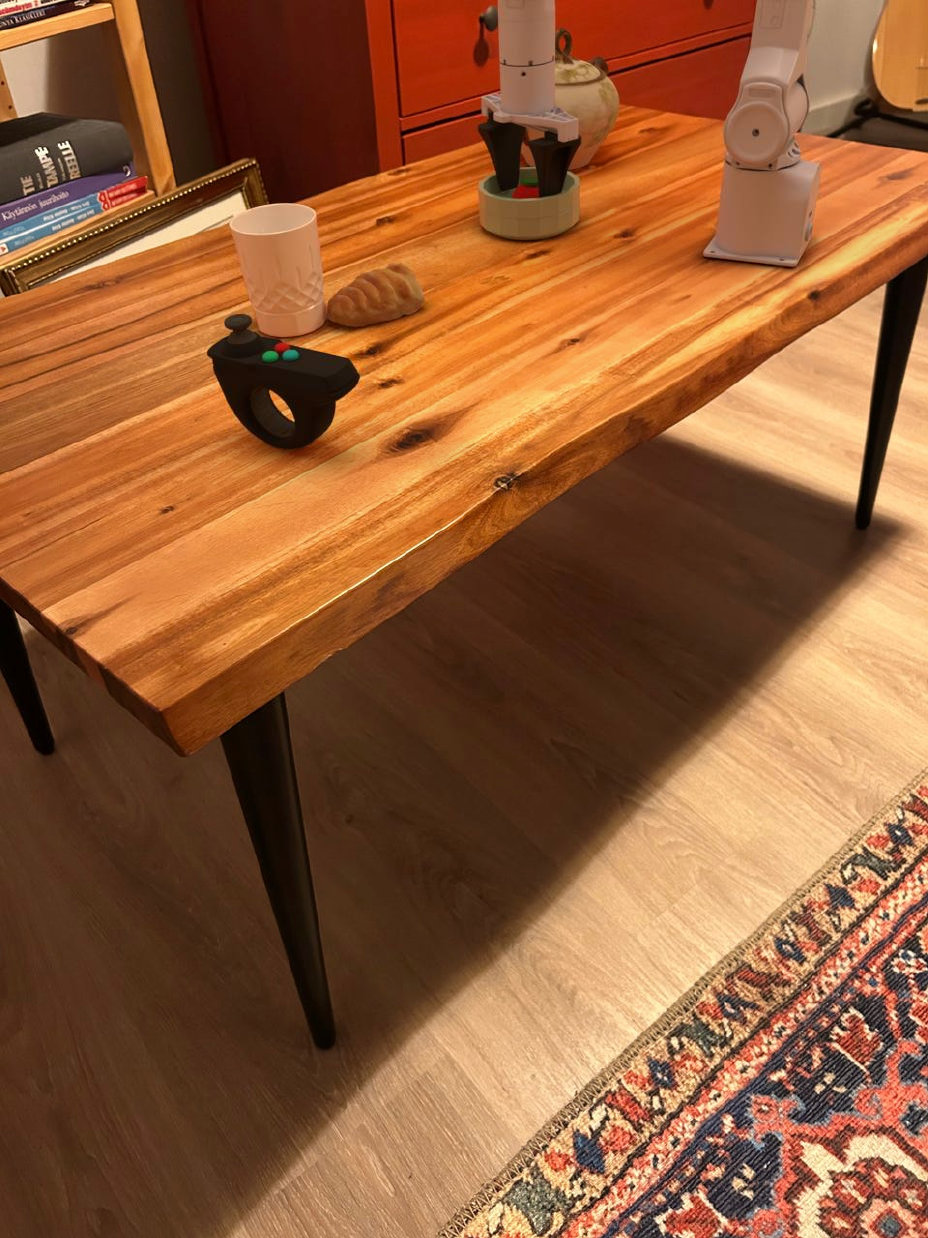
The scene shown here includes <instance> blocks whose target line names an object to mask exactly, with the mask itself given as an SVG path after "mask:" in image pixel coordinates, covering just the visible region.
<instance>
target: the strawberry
mask: <svg viewBox="0 0 928 1238" xmlns="http://www.w3.org/2000/svg"><path fill="white" fill-rule="evenodd" d="M512 198H514V199H531V198H539V190H538V178H536V177H524V178H521V179H520V185H519V186H518V187H517V188H516V189H515V191H514V193H513V196H512Z"/></svg>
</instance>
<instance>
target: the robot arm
mask: <svg viewBox="0 0 928 1238" xmlns="http://www.w3.org/2000/svg"><path fill="white" fill-rule="evenodd" d="M813 5H814V0H756V4H755V12H754V18H753V19H754V20H753V26H752V32H751V41H750V48H749V52H748V55H747V58H746V61H745V65H744V68H743V71H742V73H741V77H740V80H739V87H738V94H737V98H736V100H735V103H734V104H733V106H732V107H731V109H730V111H729V112H728V113H727V115H726V118H725V120H724V124H723V129H722V130H723V131H722V139H723V143H724V147H725V149H726V150H725V152H724V158H723V159H724V160H723V167H722V168H723V169H722V177H721V185H720V193H719V194H720V195H719V203H718V212H717V213H718V214H717V222H716V230H715V234H714V236H713V237H712V239H711V240H710V242H708V244H707V246H706V247H705V249H704V250H703V252H702V256H703V257H706V258H713V259H722V260H730V261H739V262H747V263H756V264H764V265H774V266H782V267H791V268H794V267H796V266H797V265H798V264H799V262H800V260H801V258H802V257H803V254H804V253H805V251H806V248H807V247H808V246H809V244H810V242H811V239H812V234H813V230H814V229H813V228H814V218H815V213H816V207H817V202H818V196H819V195H818V194H819V192H820V191H819V189H820V185H821V179H822V177H821V176H822V164H821V163H820V162H816V161H810V160H807V159H803V158H802V157H801V155H802V150H801V148H800V145H799V143H798V140H797V138H796V134H797V133H798V132H799V131H800V130H801V128H802V127H803V126H804V124H805V122H806V121H807V119H808V116H809V113H810V109H811V98H810V92H809V88H808V86H807V80H806V79H807V78H806V77H807V75H806V74H807V68H808V63H809V61H808V60H809V59H808V51H807V41H808V33H809V28H810V23H811V17H812V11H813V7H814V6H813ZM497 27H498V29H497V30H498V58H499V59H498V61H499V87H500V88H499V89H500V93H495V92H494V93H491V94H487V95H483V96H481V97H480V99H481V116H483V117H484V118H487V119H486V121H485V122H482V123H479V124H478V125H477V133H478V134H479V135H480V137H481V139H482V141H483V142H484V144H485V146H486V148H487V150H488V153H489V156H490V158H491V162H492V165H493V168H494V169H493V170H494V173H496V176H497V180H498V184H499V187H500V190H501V191H507V190H510V189H514V188H517V187H518V183H519V176H520V167H521V155H522V153H521V147H522V141H523V136H524V132H525V129H526V127H527V128H530V129H533V130H536V131H539V132H542V133H544V138H543V137H542V138H539V139H535V140H531V141H528V146H529V148H530V150H531V153H532V156H533V159H534V162H535V166H536V171H537V177H538V190H539V198H542V197H548V196H553V195H557V194H559V193H562V190H563V186H564V182H565V178H566V175H567V172H568V171H569V170H568V169H569V166H570V164H571V161H572V159H573V157H574V155H575V153H576V151H577V150H578V148H579V146H580V145H581V136H580V135H578V123H579V119H578V118H576V117H573V116H571V115H569V114H568V113H567V112H565V111H564V110H563V109H561V108H560V107H559V106H558V105H556V104H555V32H556V0H497Z"/></svg>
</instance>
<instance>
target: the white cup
mask: <svg viewBox="0 0 928 1238" xmlns="http://www.w3.org/2000/svg"><path fill="white" fill-rule="evenodd" d="M228 224H229V229H230V232H231V237H232V241H233V244H234V249H235V251H236V255H237V258H238V263H239V268H240V270H241V274H242V279H243V282H244V285H245V289H246V291H247V296H248V299H249V303H250V304H251V307H252V309H253V314H254V317H255V321H256V325H257V327H258V330H259V331H260V333H263V334H265V335H267V336H269V337H275V338H290V337H292V338H293V337H299V336H303V335H307V334H309V333H312V332H315V331H316V330H317V329H320V328H321V327H323V326H324V324H325V323H326V320H327V319H328V318H327V306H326V299H325V295H324V294H325V281H324V275H323V273H324V272H323V271H324V269H323V259H322V251H321V241H320V235H319V233H320V232H319V225H318V217H317V212H316V210H315V209H314V208H312V207H310V206H308V205H305V204H300V203H291V202H290V203H287V202H286V203H285V202H284V203H282V202H281V203H271V204H265V205H260V206H255V207H252V208H248V209H246V210H244V211H241V212H239V213H238V214H236V215H235V216H233V217H232V218H231V219H230V220H229V223H228Z"/></svg>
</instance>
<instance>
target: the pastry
mask: <svg viewBox="0 0 928 1238" xmlns="http://www.w3.org/2000/svg"><path fill="white" fill-rule="evenodd" d="M424 302H425V294H424V292H423V289H422V287H421V284H420V283H419V281H418V280H417V278H416V276H415V272H414V271H413V270H412V269H411V268H410V267H409V266H408V265H406V264H405V263H403V262H399V263H393V262H390V263H389V264H388V265H387V266H386V267H384V268H376V269H375V268H374V269H372V270H370V271H366V272H362V273H360V274H358V275H357V276H356V277H355V278H354V279H353V281H352V282H351V283H349V284H348V285H347V286H343V287H341V288H340V289H339V290H338V291H337V292H336V293H335V294H333V296H332V297H331V298H329V299H328V300H327V306H326V314H327V318H326V319H328V320H329V321H331V322H333V323H336V324H339V325H341V326H345V327H353V328H354V329H355V328H356V327H360V328H362V327H366V326H368V325H378V324H379V323H384V322H386V321H387V322H389V321H393V320H396V319H400V318H401V317H402V316H404V315H407V316H409V315H412V314H414V313H416V312H417V311H419V310H420V309H421V308H422V305H423V303H424Z"/></svg>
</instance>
